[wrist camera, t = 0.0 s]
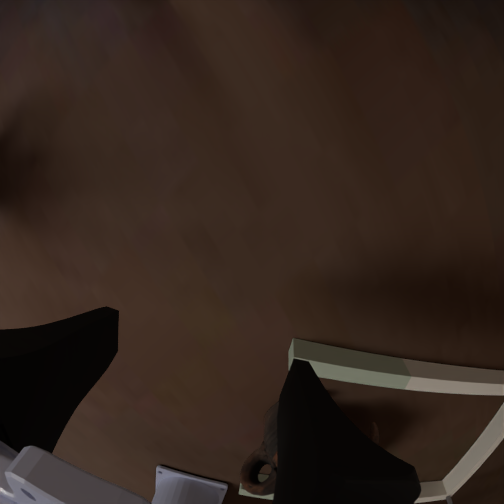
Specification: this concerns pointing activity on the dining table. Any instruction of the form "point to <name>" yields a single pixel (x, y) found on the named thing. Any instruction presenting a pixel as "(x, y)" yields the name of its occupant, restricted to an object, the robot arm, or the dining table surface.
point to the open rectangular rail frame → (411, 378)
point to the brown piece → (271, 457)
